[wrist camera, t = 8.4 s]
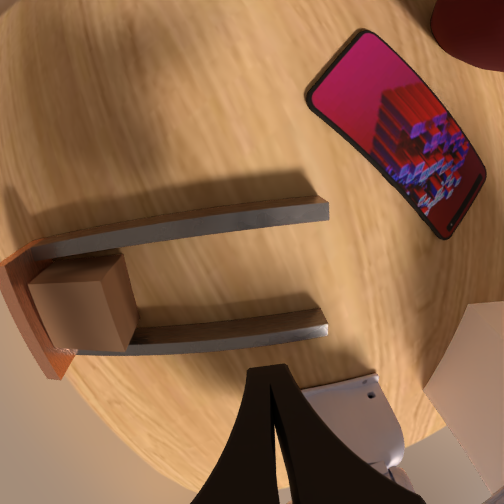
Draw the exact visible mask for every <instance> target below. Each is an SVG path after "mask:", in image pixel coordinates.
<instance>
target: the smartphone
mask: <svg viewBox="0 0 504 504" xmlns="http://www.w3.org/2000/svg"><path fill="white" fill-rule="evenodd" d="M306 102H307V105H308V107H309V109H310V110H311V111H312V112H313V113H315V114H316V115H317V116H318V117H319V118H321V119H322V120H323V121H324V122H326V123H327V124H328V125H329V126H330V127H332V128H333V129H334V130H335V131H336V132H337V133H339V134H340V135H341V136H342V137H343V138H344V139H345V140H346V141H348V142H349V143H350V144H351V145H352V146H353V147H354V148H355V149H356V150H357V151H359V152H360V153H361V154H362V155H363V156H364V157H365V158H366V159H367V160H368V161H369V162H370V163H371V164H372V165H373V166H374V167H375V168H376V169H377V170H378V171H379V172H380V173H381V174H382V175H383V177H384V178H385V179H386V180H387V181H388V182H389V183H390V184H391V185H392V186H394V187H395V188H396V189H397V191H398V192H399V193H400V194H401V195H402V196H403V197H404V198H405V199H406V200H407V202H408V203H409V204H410V205H411V206H412V207H413V208H414V209H415V211H416V212H417V213H418V214H419V216H420V217H421V218H422V220H423V221H425V222H426V224H427V225H428V226H429V227H430V229H431V230H432V231H433V232H434V234H435V235H436V236H437V237H438V238H440V239H442V240H447V239H449V238H450V237H451V236H452V234H453V233H454V232H455V230H456V229H457V227H458V225H459V224H460V222H461V221H462V219H463V218H464V216H465V215H466V213H467V211H468V210H469V208H470V207H471V205H472V203H473V202H474V200H475V198H476V197H477V195H478V193H479V191H480V190H481V188H482V186H483V184H484V182H485V180H486V168H485V166H484V164H483V163H482V161H481V159H480V158H479V156H478V154H477V153H476V151H475V149H474V148H473V146H472V145H471V143H470V141H469V140H468V138H467V137H466V135H465V134H464V132H463V131H462V129H461V128H460V127H459V125H458V124H457V122H456V121H455V120H454V118H453V117H452V115H451V114H450V113H449V111H448V110H447V109H446V108H445V106H444V105H443V104H442V102H441V101H440V100H439V99H438V97H437V96H436V95H435V94H434V93H433V91H432V90H431V89H430V88H429V87H428V85H427V84H426V83H425V82H424V81H423V80H422V79H421V78H420V76H419V75H418V74H417V73H416V72H415V71H414V70H413V69H412V68H411V67H410V66H409V65H408V64H407V63H406V62H405V61H404V60H403V59H402V58H401V57H400V56H399V55H398V54H397V53H396V52H395V51H394V50H393V49H392V48H391V47H390V46H389V45H388V44H387V43H386V42H385V41H384V40H382V39H381V38H380V37H379V36H378V35H377V34H375V33H374V32H371V31H362V32H360V33H359V34H358V35H357V36H356V37H355V38H354V39H353V40H352V42H351V43H350V44H349V45H348V46H347V47H346V48H345V49H344V51H343V52H342V53H341V54H340V55H339V56H338V58H337V59H336V60H335V61H334V62H333V63H332V64H331V66H330V67H329V68H328V69H327V70H326V72H325V73H324V74H323V75H322V76H321V77H320V79H319V80H318V81H317V82H316V83H315V85H314V86H313V87H312V88H311V89H310V90H309V92H308V94H307V97H306Z"/></svg>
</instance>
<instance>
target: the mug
mask: <svg viewBox="0 0 504 504" xmlns="http://www.w3.org/2000/svg"><path fill="white" fill-rule="evenodd" d="M431 29H432V32H433V35H434V37H435V39H436V40H437V42H438V43H439V45H440V46H441V47H442V48H443V49H444V50H445V51H446V52H447V53H448V54H449V55H451V56H453V57H455V58H457V59H459V60H461V61H464V62H466V63H468V64H470V65H473V66H475V67H478V68H481V69H486V70H493V71H500V72H504V0H437V2H436V4H435V7H434V10H433V14H432V17H431Z"/></svg>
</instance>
